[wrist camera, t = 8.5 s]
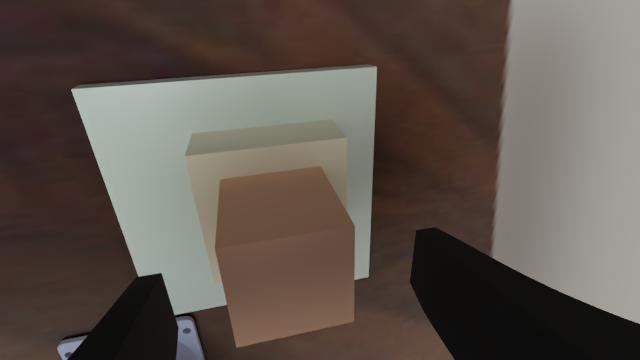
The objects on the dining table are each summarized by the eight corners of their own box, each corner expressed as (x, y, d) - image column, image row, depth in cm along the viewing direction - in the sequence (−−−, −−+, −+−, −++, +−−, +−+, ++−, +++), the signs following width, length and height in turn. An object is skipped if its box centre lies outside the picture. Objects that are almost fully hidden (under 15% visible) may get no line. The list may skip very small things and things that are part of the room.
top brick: (323, 245, 18) (354, 321, 13) (235, 260, 17) (236, 347, 12) (320, 166, 16) (355, 225, 11) (220, 179, 15) (214, 249, 10)
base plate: (363, 267, 24) (385, 310, 21) (157, 306, 22) (142, 362, 18) (370, 64, 18) (402, 76, 15) (80, 85, 15) (36, 105, 12)
